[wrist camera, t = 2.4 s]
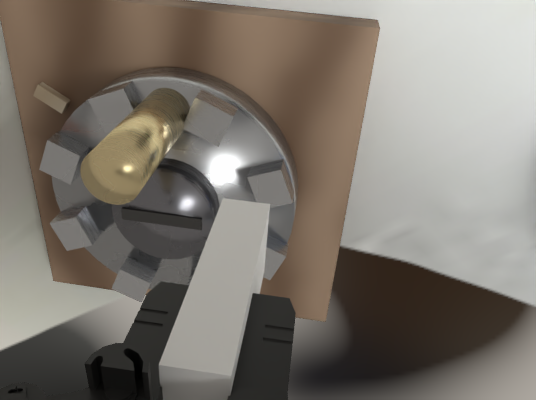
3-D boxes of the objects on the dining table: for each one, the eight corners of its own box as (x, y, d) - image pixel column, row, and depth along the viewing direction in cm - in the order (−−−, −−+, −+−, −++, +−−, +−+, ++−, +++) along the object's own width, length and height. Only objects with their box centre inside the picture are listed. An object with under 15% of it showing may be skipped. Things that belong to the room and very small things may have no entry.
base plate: (377, 19, 26) (380, 30, 24) (326, 302, 36) (325, 326, 34) (15, -18, 27) (-12, -11, 25) (66, 264, 38) (50, 285, 36)
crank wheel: (311, 82, 26) (295, 166, 18) (286, 286, 33) (267, 411, 25) (55, 53, 27) (-72, 119, 19) (86, 256, 34) (4, 368, 26)
